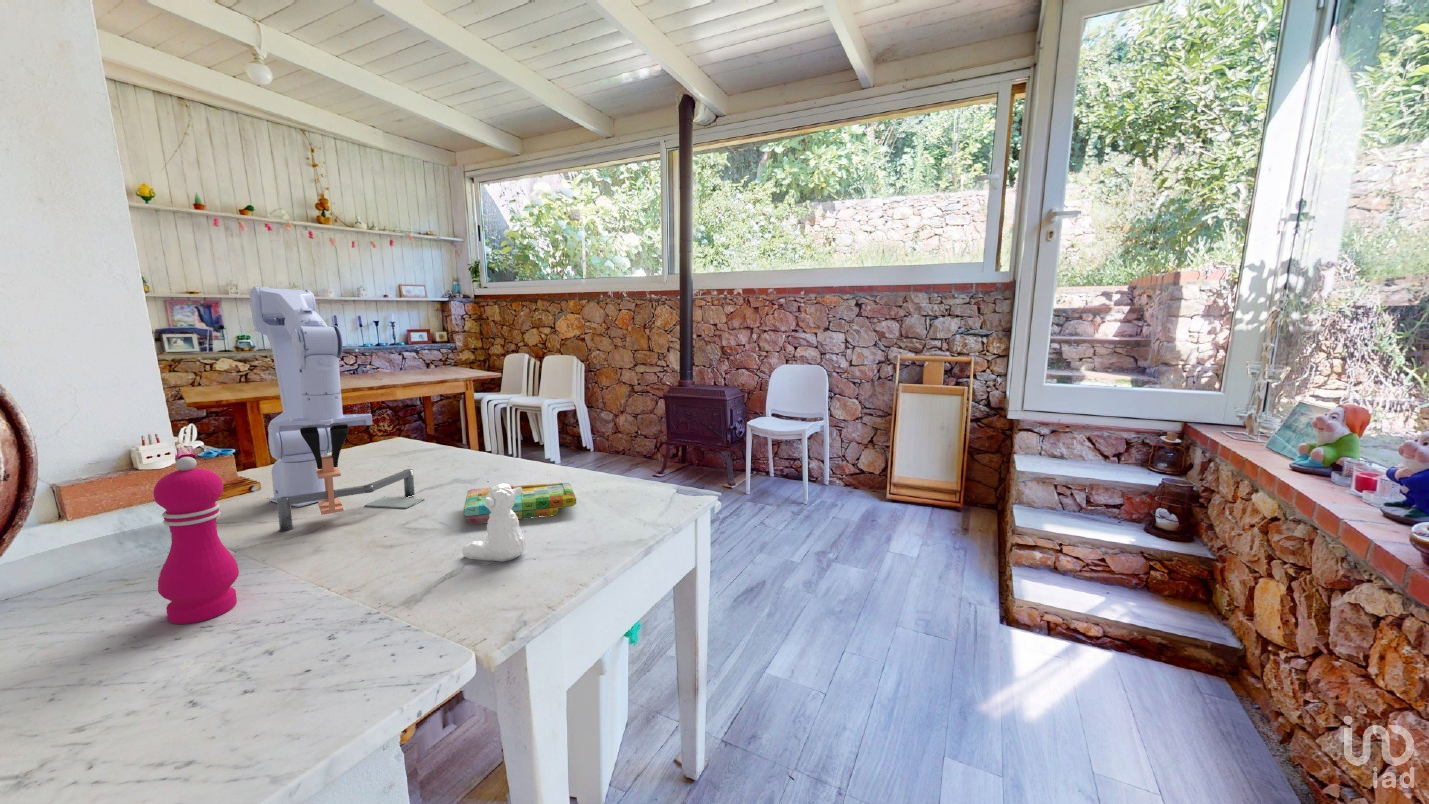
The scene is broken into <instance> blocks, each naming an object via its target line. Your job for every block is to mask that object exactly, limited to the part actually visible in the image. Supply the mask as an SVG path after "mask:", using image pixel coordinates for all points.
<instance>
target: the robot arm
mask: <svg viewBox="0 0 1429 804" xmlns="http://www.w3.org/2000/svg"><path fill="white" fill-rule="evenodd" d="M316 303H317V302H316V298H315V294H314V292H312V291H311V290H310V289H305V290H304V289H290V288H288V289H287V288H272V287H259V286H257V285H256V286H253V287H252V288H250V290H249V306H250V312H251V318H252V324H253V326H255V328H254V329H255V331H256V332H258V333H261V334H263V335H264V336H266V338H267V340H268V341H269V345H270V347H271V352H272V357H273V361H274V368H275V373H276V374H275V375H276V380H277V384H278V386H277V387H278V391H279V396H280V401H281V407H282V408H281V409H282V412H281V413H280V414H279V415H276V416H275V417H274V418H272V419H271V420H270V421H269V424H268V426H267V431H268V448H269V452H270V456H271V457H272V458H273V459H275V460H276V461H275V462H274V464H273V465H272V467H271V479H272V489H273V490H272V491H273V493H272V494H273V497H271V498H269V499H268V502H271V501H272V502H273V503H276V504H277V498H280V497H289V496H296V495H303V494H309V493H316V492H323V491H325V481H324V478H323V479H318V476H317V473H316V470H315V468H318V469H322V459H321V456H328V454H330V453H331V456H332V458H333V466H334V467H338V465H339V459H340V453H341V450H342V447H343V444H344V442H345V440H346V438H347V437H348V434H349V431H350V430H349V427H355V426H356V427H357V426H372V425H373V424H374V423H373V416H372V414H371V413H358V414H357V413H356V414H355V413H354V414H353V413H352V414H343V401H342V390H341V389H342V386H341V374H340V360H339V359H341V357H342V356H343V343H344V342H343V338H342V336H343V335H342V333H341V331H340V329H339V327H338V325H331V326H328V325H327V323H326V322H325V320H324V319H323V318H322V317H321V315H320V314H319V313H318V312H317V304H316ZM325 500H326V499H324V500H317V501H311V502H304V503H298V504H292V505H291V507H297V508H301V507H303V506H306V505H307V506H308V505H311V504H315V503H318V501H325Z"/></svg>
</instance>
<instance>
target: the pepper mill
mask: <svg viewBox="0 0 1429 804" xmlns="http://www.w3.org/2000/svg"><path fill="white" fill-rule="evenodd" d="M175 463H176V464H175V467H176V468H177V470H174V471H173V472H172V471H171V472H169V473H167V474H166V475H164V476H163V477H161V478H160V479H159V480H158V481H157V482H156V483H155V486H154V487H153V494H152V495H153V499H154V501H155V503H156V504H157V505H158V506H159V507H161V508H163V509H164V510H165V511H163V513H161V516H162V517H163V521H162V523H163V524H164V525H165V526H167V527H169V531H170V538H171V539H170V541H171V543H170V548H169V549H170V550H169V552H168V554H167V557H166V559H165V561H164V563H163V565H162V568H161V569H160V572H159V576H158V579H157V592H158V594H159V595H160V596H161V597H162V598H164V599H165V600H168V601H170V602H169V603H168V604H167V605H166V608H165V609H166V619H167V621H168V622H169V623H171V624H172V625H173V624H174V625H187V624H188V625H189V624H194V623H195V624H196V623H199V622H204V621H207V620H210V619H212V618H216V617H218V616H221V615H223V614H225V613H227V612H229V611H230V610H232V609H233V608H234V607H235V606H236V605H237V602H238V598H237V597H238V596H237V590H236V589H235V588H234V587H232V586H233V585H234V584H235V582H236V581H237V579H238V577H239V574H240V569H239V565H238V562H237V560H236V558H235V557H234V556H233V554H232V553H231V551H229V550H228V549H227V547H226V546H225V545H224V544H223V542H222V541H221V539H220V537H219V534H218V528H217V527H218V526H217V518H218V517H220V515H221V513H222V512H221V511H220V507H221V505H220V503H217V500H218V499H219V498H220V497H221V495H222V494H223V492H224V483H223V479H222V478H221V477H220V476H219V474H217V473H216V472H214V471H213V470H210V469H206V468H201V467H200V468H199V467H198V468H197V464H198V463H197V460H196V458H193V457H192V456H191V457H190V456H183V457H181V458H179V459H177V461H176V462H175Z"/></svg>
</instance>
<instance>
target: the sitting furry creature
mask: <svg viewBox="0 0 1429 804" xmlns="http://www.w3.org/2000/svg"><path fill="white" fill-rule="evenodd" d="M511 486H512V485H510V484H508V483H506V482H505V483H502V482H501V483H499V484H496V485H493V486H492V487H490V488H491V491H490V492H489V493H488V494H487V495H486V501H485V507H487V508H489V510H490V512H491V513H490V514H489V520H488V523H487V524H486V530H487V531H486V532H487V533H486V534H487V536H486V542H485V541H483V540H478V541H476V540H472V541H471V542H470V543H467V544H465V545H463V547H462V550H461V552H462V553H461V554H462V555H463V557H465V558H466V559H469V560H476V561H477V560H478V561H489V562H492V561H494V562H501V563H503V562H509V561H511V560H512V561H513V560H515V559H516V558H519V557H520V555H522V554H523V552H524V550H525V546H526V538H525V536H524V535H523V531H522V530H521V527H520V519H519V520H518V518H517V516H516V514H515V513H514V512H513V511H512V509H511V508H512V507H513V505H514V504H515V497H517V496H519V495H521V492H522V488H521V487H518V488H514V489H512V488H511Z"/></svg>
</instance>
